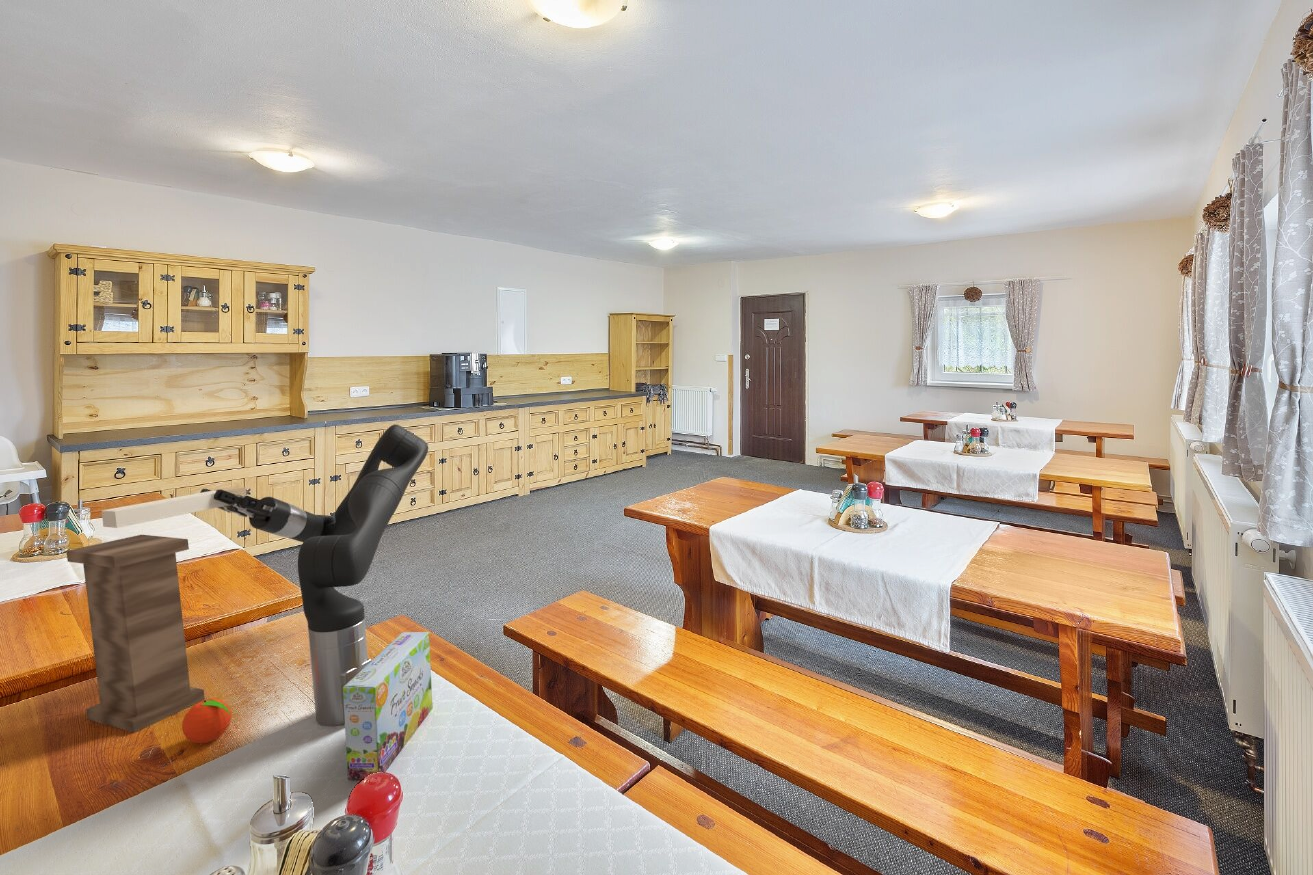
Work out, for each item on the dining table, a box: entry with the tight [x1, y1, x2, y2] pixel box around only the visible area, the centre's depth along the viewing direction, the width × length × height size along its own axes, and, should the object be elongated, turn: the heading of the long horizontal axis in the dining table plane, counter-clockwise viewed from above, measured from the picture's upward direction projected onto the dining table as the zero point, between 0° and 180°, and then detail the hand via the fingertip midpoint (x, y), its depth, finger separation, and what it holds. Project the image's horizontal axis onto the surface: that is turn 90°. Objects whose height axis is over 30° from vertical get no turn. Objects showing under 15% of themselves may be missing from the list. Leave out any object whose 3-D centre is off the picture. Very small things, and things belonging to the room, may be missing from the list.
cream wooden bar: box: [101, 486, 248, 529], centre depth 123 cm, size 4×24×3 cm, turn 159°
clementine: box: [181, 698, 233, 744], centre depth 106 cm, size 8×7×7 cm
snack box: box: [343, 631, 434, 781], centre depth 104 cm, size 21×6×15 cm, turn 179°
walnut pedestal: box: [65, 534, 206, 733], centre depth 116 cm, size 14×12×32 cm
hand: (209, 493), depth 128 cm, fingers closed on cream wooden bar, 4 cm apart
